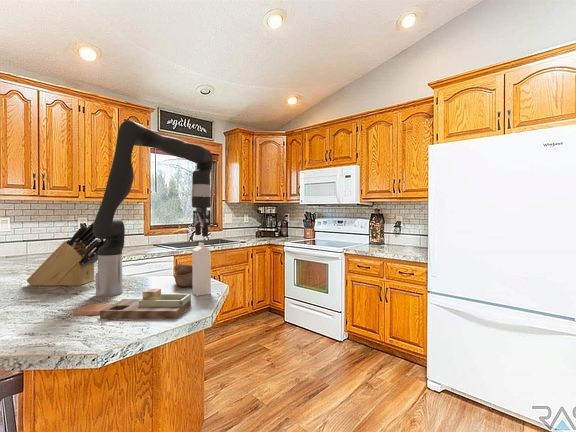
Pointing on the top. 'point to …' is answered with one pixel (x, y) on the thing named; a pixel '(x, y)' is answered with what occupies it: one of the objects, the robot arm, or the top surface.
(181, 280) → the bowl
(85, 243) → the knife block
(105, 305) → the tile
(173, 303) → the grey green shallow tray
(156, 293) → the block
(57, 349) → the top surface
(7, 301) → the top surface
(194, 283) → the milk
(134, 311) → the dark brown flat tray
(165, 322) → the top surface
